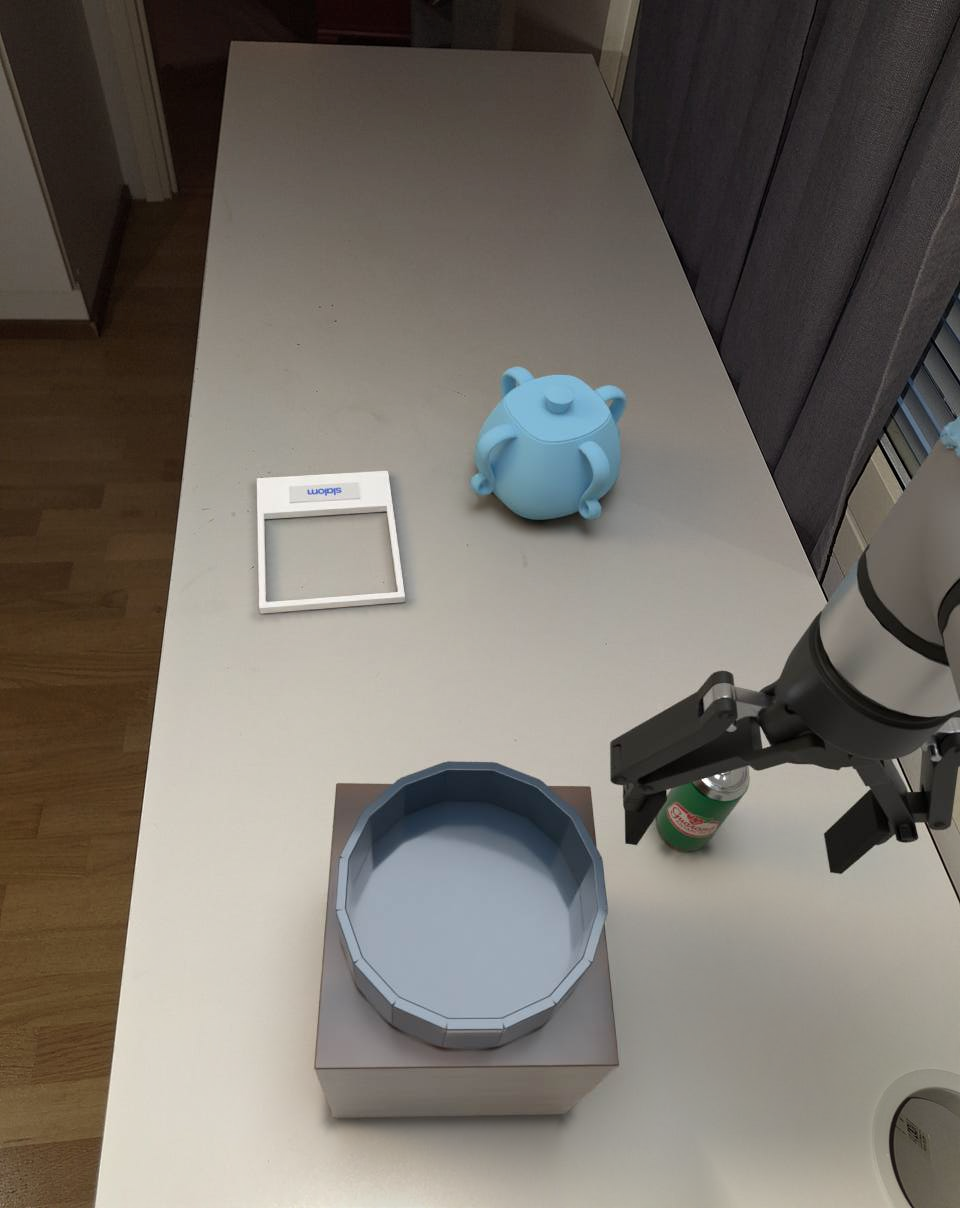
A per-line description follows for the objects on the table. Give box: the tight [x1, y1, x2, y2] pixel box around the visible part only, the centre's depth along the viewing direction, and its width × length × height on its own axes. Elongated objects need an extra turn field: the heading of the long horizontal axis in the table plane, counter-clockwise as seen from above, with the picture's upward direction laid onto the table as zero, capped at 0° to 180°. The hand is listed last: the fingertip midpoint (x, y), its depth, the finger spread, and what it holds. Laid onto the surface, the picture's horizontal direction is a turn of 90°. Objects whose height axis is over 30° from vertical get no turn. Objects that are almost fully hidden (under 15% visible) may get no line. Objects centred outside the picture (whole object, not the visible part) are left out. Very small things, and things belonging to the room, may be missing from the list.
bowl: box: [335, 760, 609, 1049], centre depth 53 cm, size 15×15×5 cm
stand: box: [313, 782, 620, 1119], centre depth 63 cm, size 17×17×20 cm
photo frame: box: [256, 470, 406, 614], centre depth 97 cm, size 15×1×18 cm
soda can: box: [656, 766, 751, 852], centre depth 76 cm, size 5×5×12 cm
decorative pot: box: [469, 366, 627, 521], centre depth 100 cm, size 16×16×14 cm
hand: (731, 839), depth 59 cm, fingers open, 13 cm apart
